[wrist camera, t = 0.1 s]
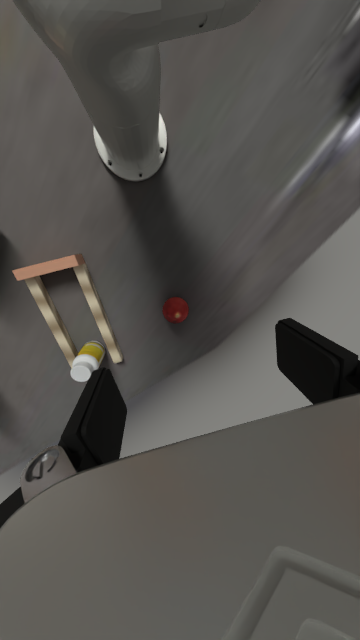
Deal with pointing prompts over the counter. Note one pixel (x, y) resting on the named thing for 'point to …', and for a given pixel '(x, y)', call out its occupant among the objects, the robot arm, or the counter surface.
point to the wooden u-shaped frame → (50, 312)
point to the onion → (175, 310)
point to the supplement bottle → (87, 361)
